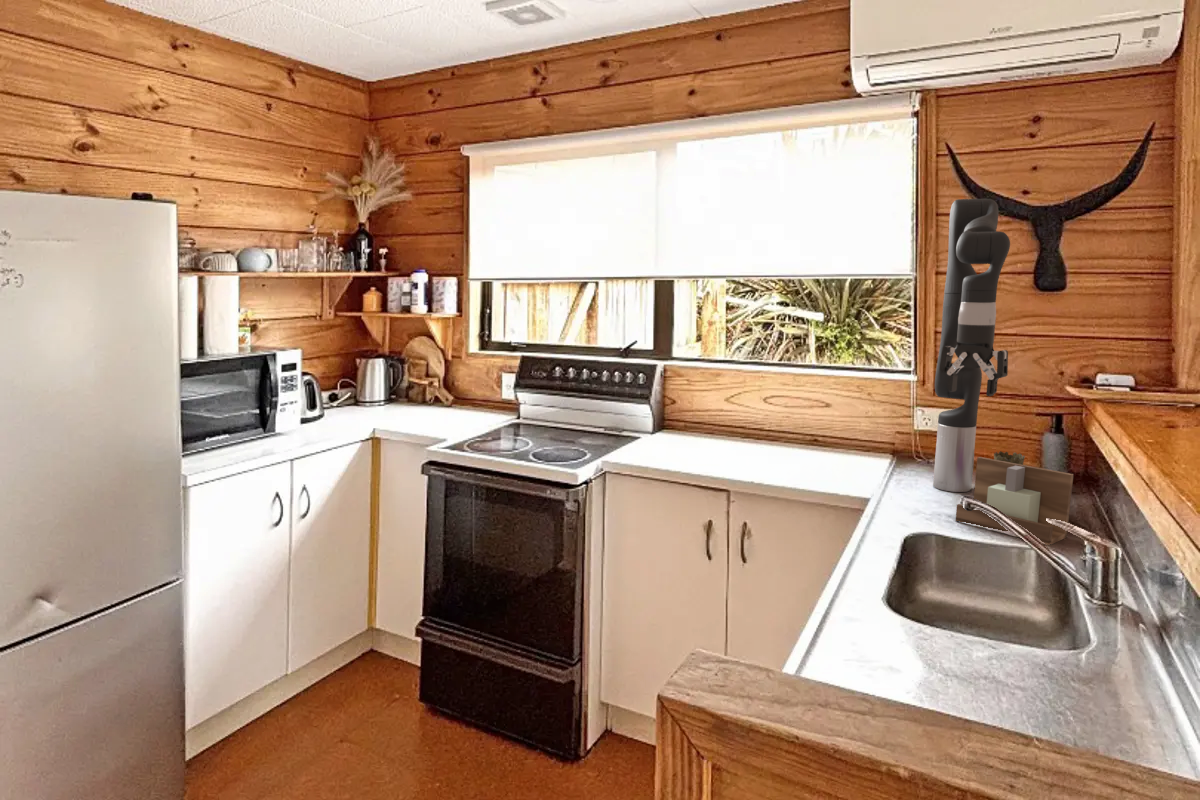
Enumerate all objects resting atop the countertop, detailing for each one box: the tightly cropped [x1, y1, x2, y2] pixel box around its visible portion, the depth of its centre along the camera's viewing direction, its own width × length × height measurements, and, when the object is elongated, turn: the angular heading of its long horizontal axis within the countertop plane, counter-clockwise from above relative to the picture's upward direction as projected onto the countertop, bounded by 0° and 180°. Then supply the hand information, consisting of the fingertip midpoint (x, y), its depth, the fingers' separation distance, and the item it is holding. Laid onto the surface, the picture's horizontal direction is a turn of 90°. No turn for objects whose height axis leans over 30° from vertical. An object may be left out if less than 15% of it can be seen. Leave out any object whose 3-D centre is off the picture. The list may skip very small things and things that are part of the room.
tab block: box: [987, 466, 1041, 522], centre depth 170 cm, size 5×9×13 cm, turn 37°
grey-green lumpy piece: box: [993, 451, 1026, 465], centre depth 210 cm, size 8×7×8 cm
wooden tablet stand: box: [955, 456, 1074, 546], centre depth 169 cm, size 9×20×14 cm, turn 37°
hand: (970, 393), depth 175 cm, fingers open, 8 cm apart
